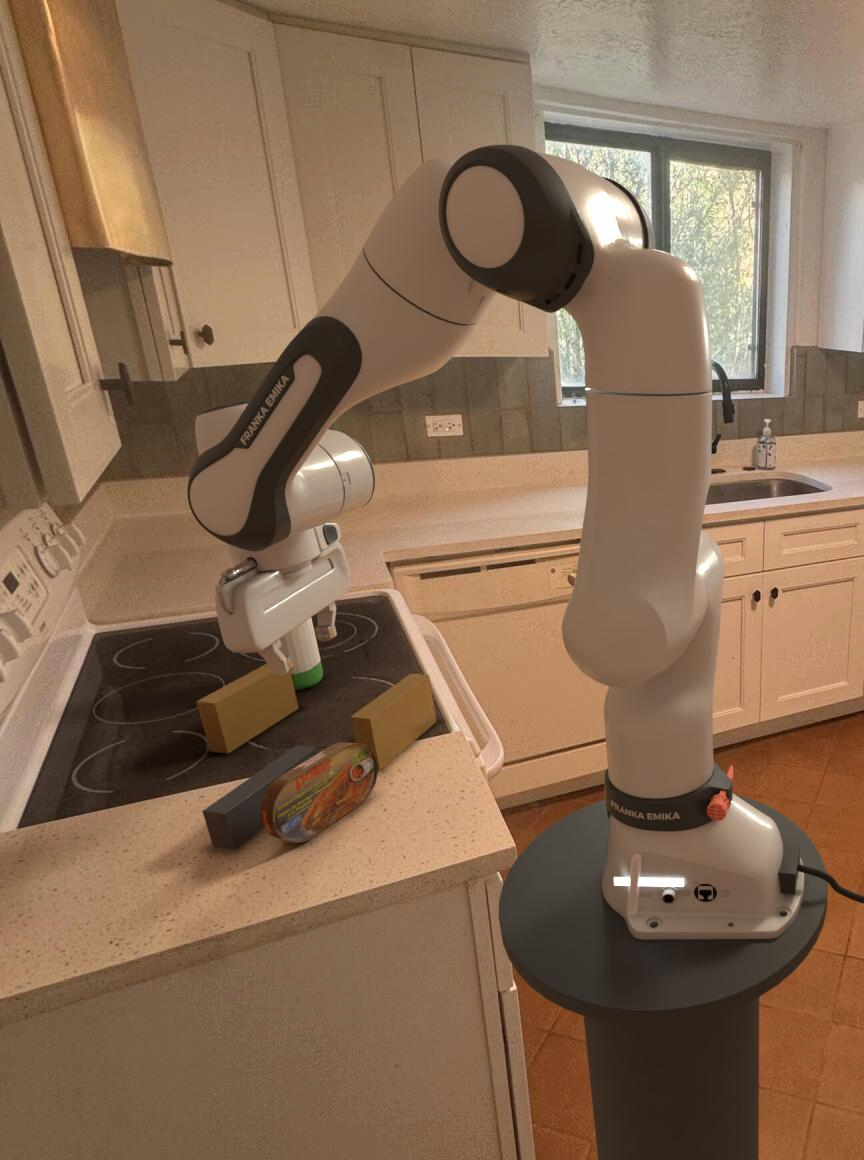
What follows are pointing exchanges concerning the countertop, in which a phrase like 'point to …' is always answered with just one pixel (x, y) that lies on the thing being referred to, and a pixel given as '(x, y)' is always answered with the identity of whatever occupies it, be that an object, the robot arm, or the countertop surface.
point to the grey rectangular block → (248, 802)
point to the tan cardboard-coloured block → (246, 708)
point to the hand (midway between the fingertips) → (306, 655)
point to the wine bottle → (303, 655)
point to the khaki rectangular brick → (395, 718)
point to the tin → (319, 792)
